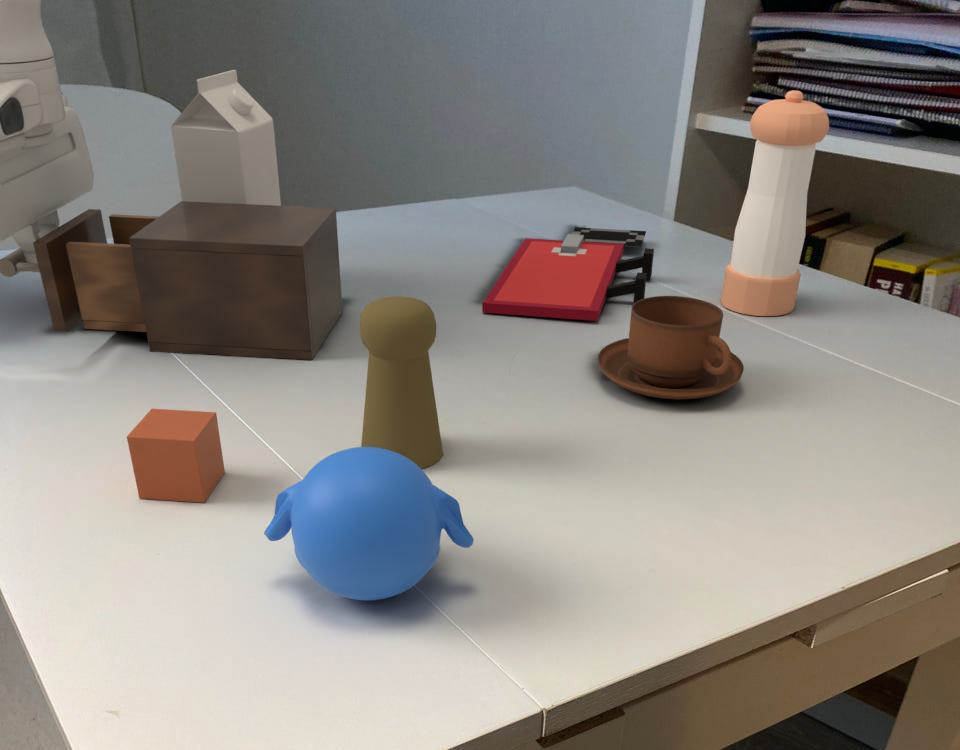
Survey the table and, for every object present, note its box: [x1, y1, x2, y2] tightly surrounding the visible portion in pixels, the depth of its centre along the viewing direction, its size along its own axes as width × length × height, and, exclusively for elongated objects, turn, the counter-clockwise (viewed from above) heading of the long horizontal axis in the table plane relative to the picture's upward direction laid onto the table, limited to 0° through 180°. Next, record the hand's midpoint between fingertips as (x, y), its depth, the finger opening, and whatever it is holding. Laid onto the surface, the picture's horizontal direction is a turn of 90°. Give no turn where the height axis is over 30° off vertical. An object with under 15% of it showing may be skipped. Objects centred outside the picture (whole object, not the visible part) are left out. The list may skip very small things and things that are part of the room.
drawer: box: [0, 208, 160, 333], centre depth 91 cm, size 18×11×8 cm, turn 84°
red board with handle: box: [481, 226, 655, 322], centre depth 108 cm, size 30×3×15 cm
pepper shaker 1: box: [359, 295, 444, 470], centre depth 70 cm, size 6×6×11 cm
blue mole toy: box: [263, 446, 475, 601], centre depth 58 cm, size 12×12×8 cm
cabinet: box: [129, 200, 343, 361], centre depth 90 cm, size 15×13×10 cm
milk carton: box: [170, 69, 282, 206], centre depth 99 cm, size 7×7×19 cm
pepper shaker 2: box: [720, 89, 830, 317], centre depth 96 cm, size 7×7×19 cm
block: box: [126, 408, 226, 504], centre depth 68 cm, size 4×4×4 cm
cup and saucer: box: [597, 295, 745, 400], centre depth 83 cm, size 12×12×6 cm
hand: (44, 267), depth 92 cm, fingers closed
